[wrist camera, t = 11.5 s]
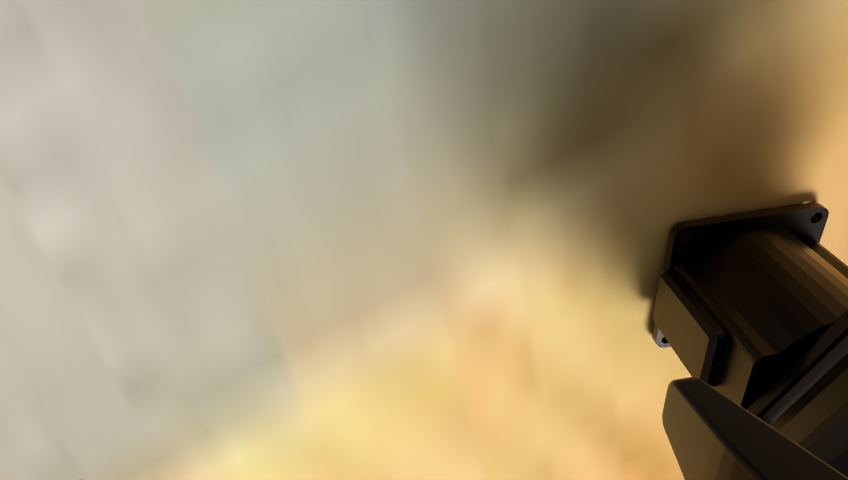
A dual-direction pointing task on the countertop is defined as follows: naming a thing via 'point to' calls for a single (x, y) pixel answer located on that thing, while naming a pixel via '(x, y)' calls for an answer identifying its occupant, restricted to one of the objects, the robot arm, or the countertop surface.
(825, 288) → the robot arm
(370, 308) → the countertop surface
